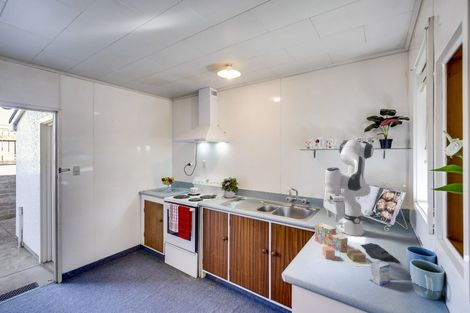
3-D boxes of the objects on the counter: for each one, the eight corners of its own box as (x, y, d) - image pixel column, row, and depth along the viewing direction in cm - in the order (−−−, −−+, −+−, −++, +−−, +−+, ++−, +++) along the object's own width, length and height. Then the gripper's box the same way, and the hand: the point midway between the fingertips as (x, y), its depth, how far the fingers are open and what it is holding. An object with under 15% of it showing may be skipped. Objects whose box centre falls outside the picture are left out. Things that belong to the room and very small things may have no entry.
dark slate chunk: (381, 248, 144) (381, 240, 144) (401, 265, 122) (402, 257, 122) (356, 246, 146) (356, 239, 146) (372, 263, 124) (372, 255, 124)
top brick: (322, 256, 131) (322, 246, 131) (330, 256, 131) (331, 246, 131) (325, 260, 126) (326, 250, 126) (334, 260, 126) (334, 250, 126)
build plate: (339, 253, 134) (339, 252, 134) (358, 254, 134) (358, 252, 134) (352, 267, 118) (352, 265, 118) (375, 268, 118) (375, 266, 118)
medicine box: (379, 285, 102) (380, 267, 102) (370, 280, 106) (370, 263, 106) (390, 282, 106) (390, 264, 105) (380, 277, 110) (381, 260, 109)
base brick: (346, 255, 130) (347, 249, 129) (358, 256, 129) (358, 249, 129) (353, 261, 123) (353, 254, 122) (365, 262, 122) (365, 254, 122)
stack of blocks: (347, 252, 137) (348, 232, 136) (340, 254, 134) (340, 234, 134) (321, 239, 156) (321, 222, 156) (314, 240, 153) (315, 223, 153)
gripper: (320, 192, 138) (320, 214, 138) (334, 198, 117) (334, 224, 117) (331, 192, 138) (330, 214, 138) (346, 198, 117) (346, 224, 117)
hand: (332, 219), depth 127 cm, fingers open, 8 cm apart
